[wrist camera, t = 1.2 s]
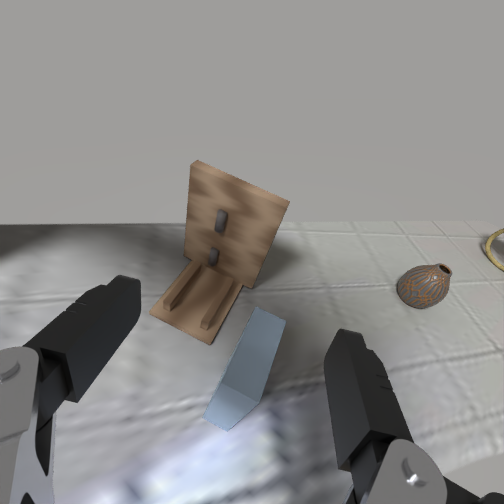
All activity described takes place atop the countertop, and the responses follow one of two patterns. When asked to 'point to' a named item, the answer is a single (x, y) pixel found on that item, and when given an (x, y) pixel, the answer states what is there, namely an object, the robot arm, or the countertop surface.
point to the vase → (425, 285)
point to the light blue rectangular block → (246, 370)
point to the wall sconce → (488, 251)
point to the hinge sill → (219, 249)
